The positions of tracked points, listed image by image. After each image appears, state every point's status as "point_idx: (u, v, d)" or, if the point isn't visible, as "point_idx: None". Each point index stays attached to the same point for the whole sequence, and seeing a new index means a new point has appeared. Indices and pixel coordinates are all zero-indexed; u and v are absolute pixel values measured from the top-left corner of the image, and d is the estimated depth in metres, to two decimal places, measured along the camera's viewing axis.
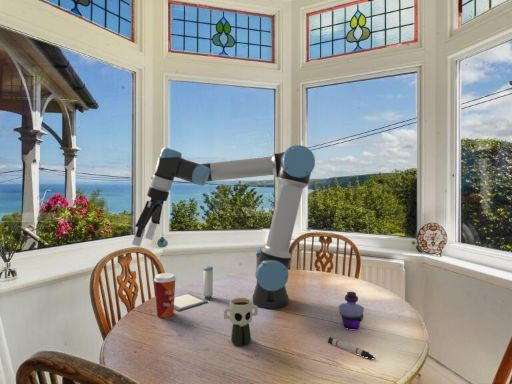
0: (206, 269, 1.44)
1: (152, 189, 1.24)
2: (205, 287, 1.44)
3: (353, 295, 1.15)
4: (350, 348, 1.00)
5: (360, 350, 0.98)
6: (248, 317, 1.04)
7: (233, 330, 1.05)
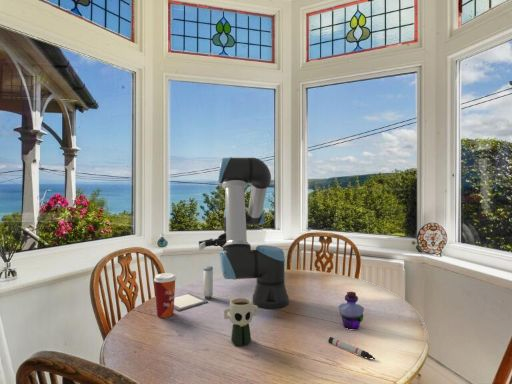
0: (206, 269, 1.44)
1: None
2: (205, 287, 1.44)
3: (353, 295, 1.15)
4: (350, 348, 1.00)
5: (360, 350, 0.98)
6: (248, 317, 1.04)
7: (233, 330, 1.05)
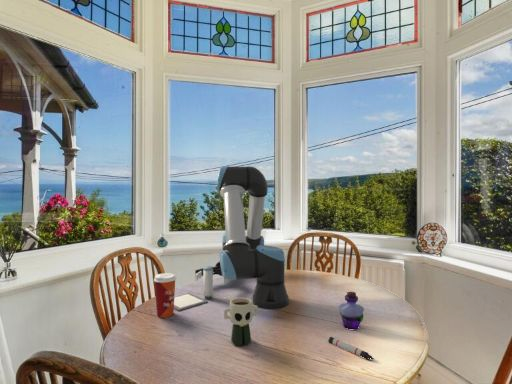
0: (206, 269, 1.44)
1: None
2: (205, 287, 1.44)
3: (353, 295, 1.15)
4: (349, 348, 1.00)
5: (359, 350, 0.98)
6: (248, 317, 1.04)
7: (233, 330, 1.05)
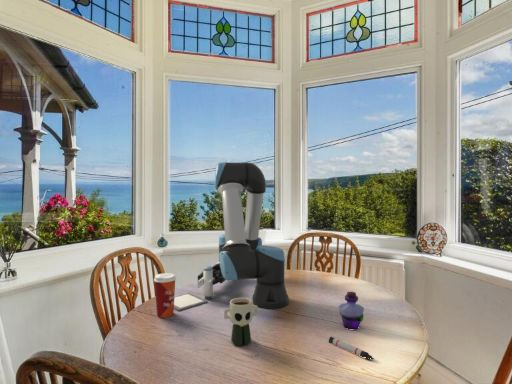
0: (206, 269, 1.44)
1: None
2: (205, 287, 1.44)
3: (353, 295, 1.15)
4: (349, 348, 1.00)
5: (359, 350, 0.98)
6: (248, 317, 1.04)
7: (233, 330, 1.05)
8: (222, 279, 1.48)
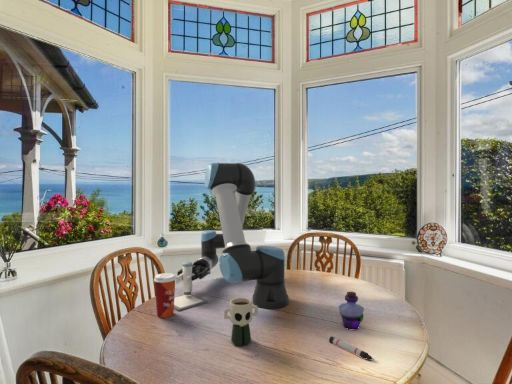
0: (185, 265, 1.44)
1: None
2: (184, 283, 1.44)
3: (353, 295, 1.15)
4: (349, 348, 1.00)
5: (359, 350, 0.98)
6: (248, 317, 1.04)
7: (233, 330, 1.05)
8: (202, 275, 1.48)
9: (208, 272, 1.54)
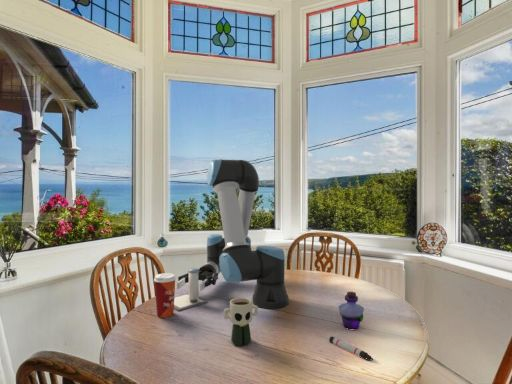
0: (191, 271, 1.38)
1: None
2: (190, 290, 1.38)
3: (353, 295, 1.15)
4: (349, 348, 1.00)
5: (359, 350, 0.98)
6: (248, 317, 1.04)
7: (233, 330, 1.05)
8: (215, 281, 1.42)
9: (217, 277, 1.49)
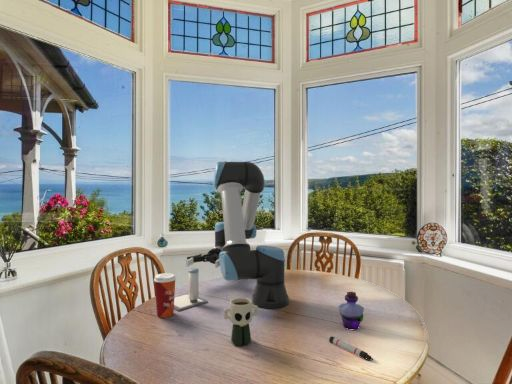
0: (191, 271, 1.38)
1: None
2: (190, 290, 1.38)
3: (353, 295, 1.15)
4: (349, 348, 1.00)
5: (359, 350, 0.98)
6: (248, 317, 1.04)
7: (233, 330, 1.05)
8: None
9: None
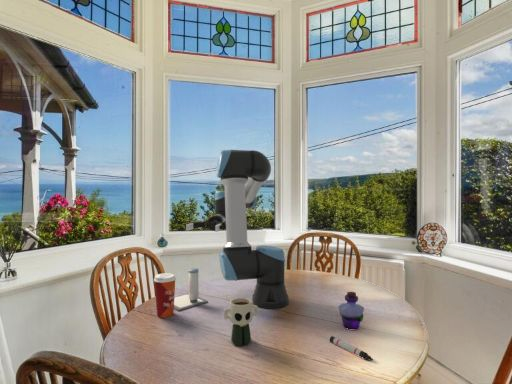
0: (191, 271, 1.38)
1: None
2: (190, 290, 1.38)
3: (353, 295, 1.15)
4: (349, 348, 1.00)
5: (359, 350, 0.98)
6: (248, 317, 1.04)
7: (233, 330, 1.05)
8: None
9: None
